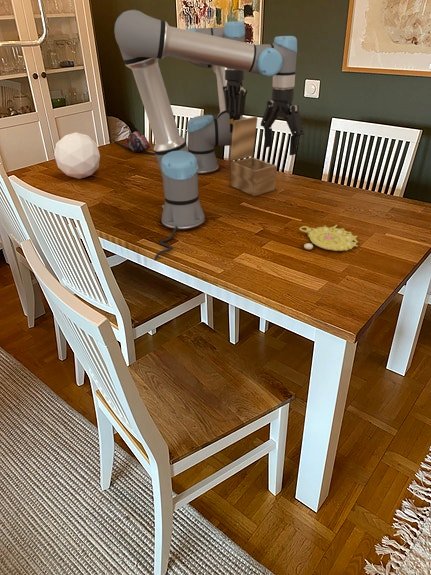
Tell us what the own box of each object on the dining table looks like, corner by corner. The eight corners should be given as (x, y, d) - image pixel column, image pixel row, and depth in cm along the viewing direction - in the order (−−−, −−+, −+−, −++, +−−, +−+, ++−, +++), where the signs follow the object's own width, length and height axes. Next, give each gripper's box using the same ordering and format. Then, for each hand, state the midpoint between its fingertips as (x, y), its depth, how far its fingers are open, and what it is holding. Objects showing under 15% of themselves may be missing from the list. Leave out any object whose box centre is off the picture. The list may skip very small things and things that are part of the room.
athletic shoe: (138, 131, 244) (117, 136, 240) (148, 124, 224) (125, 129, 220) (144, 152, 247) (123, 157, 243) (154, 147, 227) (132, 152, 223)
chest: (275, 190, 180) (276, 165, 175) (253, 196, 175) (254, 171, 170) (251, 180, 191) (252, 157, 186) (230, 185, 186) (230, 162, 181)
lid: (257, 117, 175) (245, 110, 180) (234, 121, 170) (222, 114, 175) (253, 156, 185) (241, 149, 190) (231, 161, 180) (220, 153, 185)
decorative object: (343, 255, 128) (285, 234, 139) (342, 262, 130) (284, 241, 140) (372, 230, 142) (317, 213, 152) (371, 237, 143) (316, 219, 153)
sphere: (87, 194, 201) (71, 168, 182) (55, 173, 206) (37, 145, 187) (114, 165, 206) (102, 136, 187) (82, 145, 210) (67, 115, 192)
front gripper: (317, 90, 144) (312, 156, 156) (267, 82, 162) (265, 142, 173) (301, 93, 141) (296, 160, 152) (251, 85, 158) (250, 145, 170)
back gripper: (254, 69, 165) (253, 134, 178) (231, 66, 175) (231, 127, 188) (238, 71, 162) (238, 137, 174) (215, 68, 172) (217, 130, 185)
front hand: (280, 150), depth 163 cm, fingers open, 13 cm apart
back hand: (234, 132), depth 181 cm, fingers closed on lid, 1 cm apart
